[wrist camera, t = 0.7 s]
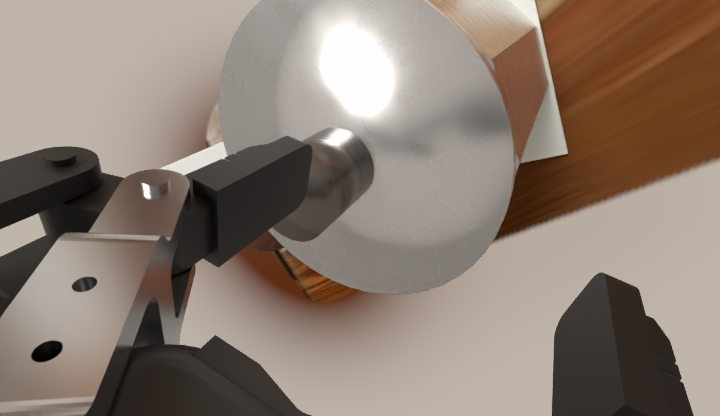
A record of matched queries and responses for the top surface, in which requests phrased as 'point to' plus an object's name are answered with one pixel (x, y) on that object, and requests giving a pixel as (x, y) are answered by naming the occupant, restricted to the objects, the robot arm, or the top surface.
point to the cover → (389, 128)
